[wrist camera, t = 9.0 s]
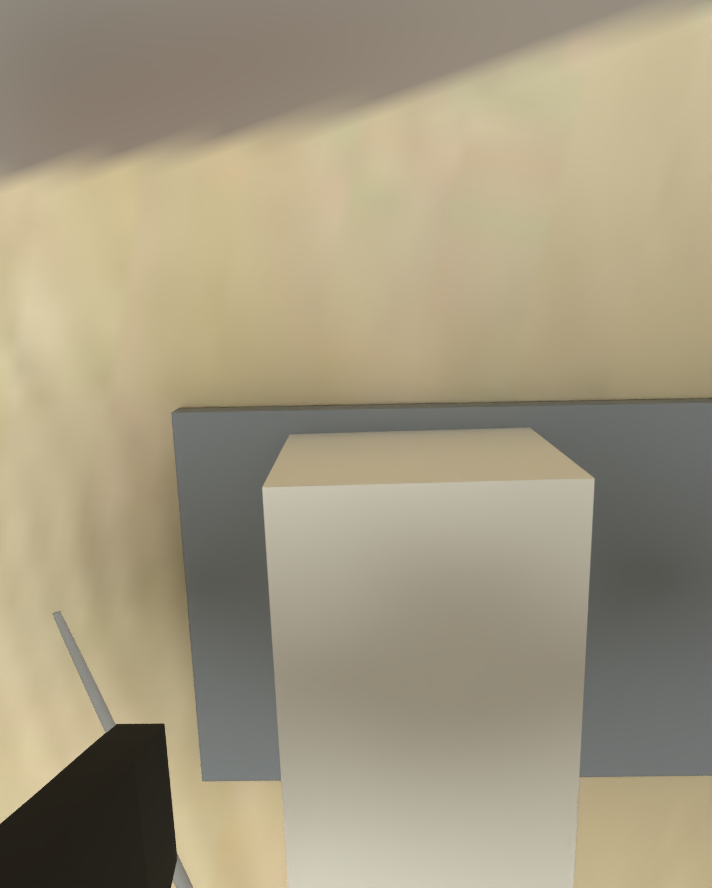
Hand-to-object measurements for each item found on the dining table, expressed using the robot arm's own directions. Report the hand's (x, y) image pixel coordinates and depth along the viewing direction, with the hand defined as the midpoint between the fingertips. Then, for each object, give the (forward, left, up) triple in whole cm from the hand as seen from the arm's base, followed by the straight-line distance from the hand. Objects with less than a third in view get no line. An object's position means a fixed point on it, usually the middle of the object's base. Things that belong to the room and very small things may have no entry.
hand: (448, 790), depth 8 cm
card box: (0, 0, -5) cm, 5 cm away
